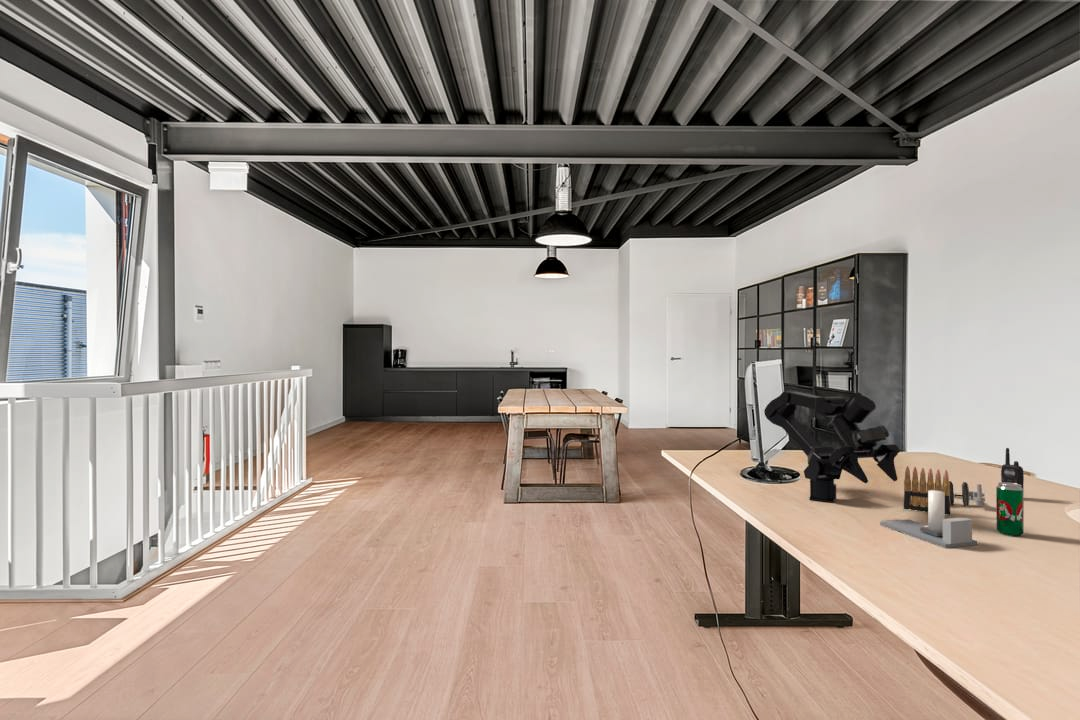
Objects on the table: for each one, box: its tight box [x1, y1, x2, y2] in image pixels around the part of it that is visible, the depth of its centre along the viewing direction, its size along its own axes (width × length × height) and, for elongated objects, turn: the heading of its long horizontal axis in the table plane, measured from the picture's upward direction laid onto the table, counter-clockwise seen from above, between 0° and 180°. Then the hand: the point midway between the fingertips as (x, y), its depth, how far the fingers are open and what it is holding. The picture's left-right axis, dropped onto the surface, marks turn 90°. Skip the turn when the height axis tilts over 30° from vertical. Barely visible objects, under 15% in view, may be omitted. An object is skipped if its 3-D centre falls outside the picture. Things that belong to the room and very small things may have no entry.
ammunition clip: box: [903, 465, 951, 516], centre depth 157 cm, size 11×2×12 cm, turn 53°
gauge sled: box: [920, 489, 946, 536], centre depth 135 cm, size 4×7×10 cm, turn 103°
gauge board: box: [879, 516, 978, 549], centre depth 137 cm, size 18×9×6 cm, turn 13°
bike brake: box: [949, 480, 986, 508], centre depth 169 cm, size 14×7×20 cm
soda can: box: [995, 481, 1025, 537], centre depth 137 cm, size 5×5×12 cm
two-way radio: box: [1000, 447, 1025, 490], centre depth 171 cm, size 6×4×15 cm
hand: (881, 481), depth 150 cm, fingers open, 9 cm apart
